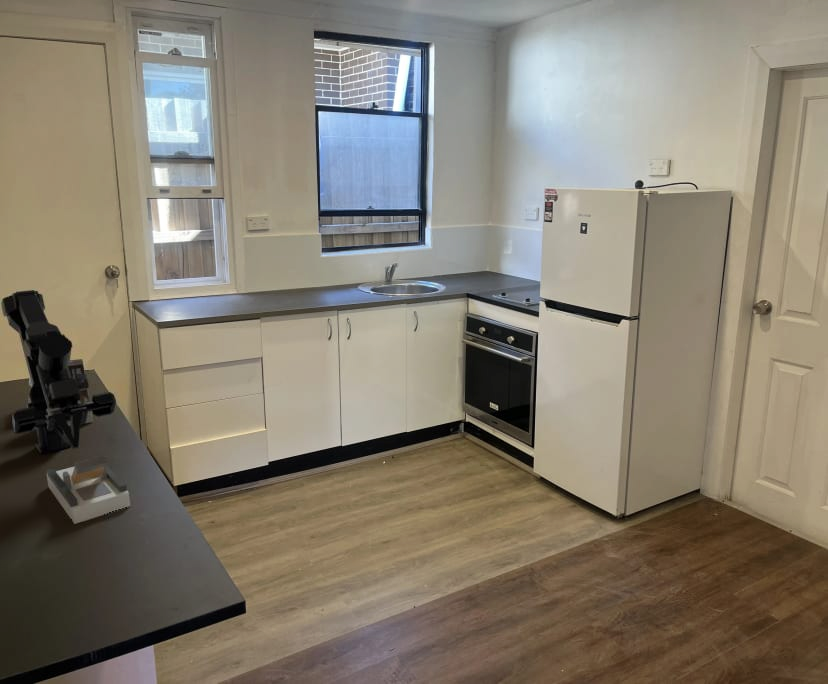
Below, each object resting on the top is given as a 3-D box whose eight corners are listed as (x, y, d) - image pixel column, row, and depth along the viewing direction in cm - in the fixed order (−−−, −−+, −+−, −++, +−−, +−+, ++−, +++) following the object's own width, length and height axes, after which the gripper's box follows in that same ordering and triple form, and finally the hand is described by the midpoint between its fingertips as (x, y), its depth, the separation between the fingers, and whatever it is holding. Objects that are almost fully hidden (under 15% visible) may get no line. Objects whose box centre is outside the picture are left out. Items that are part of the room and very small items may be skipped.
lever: (70, 477, 129) (75, 462, 124) (98, 469, 133) (104, 454, 127) (72, 485, 129) (77, 471, 123) (101, 477, 132) (107, 463, 126)
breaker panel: (48, 487, 136) (44, 460, 135) (99, 473, 143) (96, 447, 141) (74, 523, 122) (70, 494, 120) (130, 506, 128) (126, 477, 126)
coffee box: (91, 415, 178) (83, 358, 174) (92, 422, 173) (84, 363, 169) (53, 421, 174) (44, 362, 170) (53, 429, 168) (43, 368, 165)
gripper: (5, 371, 127) (24, 442, 122) (108, 354, 138) (129, 419, 133) (5, 399, 135) (23, 467, 130) (102, 381, 146) (122, 443, 141)
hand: (76, 448), depth 133 cm, fingers closed
